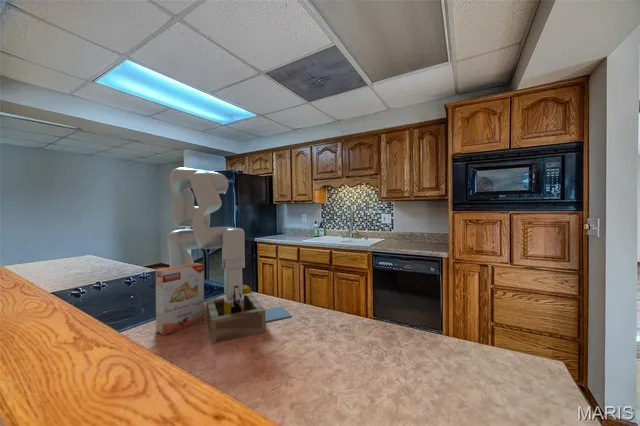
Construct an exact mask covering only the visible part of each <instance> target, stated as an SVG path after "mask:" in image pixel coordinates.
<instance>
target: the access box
mask: <svg viewBox="0 0 640 426" xmlns="http://www.w3.org/2000/svg"><path fill="white" fill-rule="evenodd" d="M242 295H243V296H244V312H239V313H234V314H228V315H224V298H225V296H223V297H216V298H210V299H206V321H207V326H208V330H209V335H210V341H211V344H216V343H220V342H225V341H228V340H233V339H238V338H242V337H247V336H251V335H255V334H259V333H263V332H266V327H267V326H266V323H267V322H266V320H265V309H266V308H264V307H263V305H262V304H261V303H260V301H259V300H258V299H257V298H256V297H255V295H254V294H253V292H252V293H248V294H242Z"/></svg>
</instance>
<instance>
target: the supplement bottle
mask: <svg viewBox="0 0 640 426" xmlns="http://www.w3.org/2000/svg"><path fill="white" fill-rule="evenodd" d="M224 297H225V298H224V315H228V314H231V307H232V301H231V298H230V299H229V300H228V299H227V298H226V296H224ZM233 297H235V296H233ZM234 301H235V300H234ZM240 301H241V312H244V296H243V295H242V297H241V298H240Z"/></svg>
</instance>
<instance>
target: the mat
mask: <svg viewBox="0 0 640 426" xmlns="http://www.w3.org/2000/svg"><path fill="white" fill-rule="evenodd" d="M264 309H265V320H266V323H270V322H274V321H280V320H283V319H288V318H292V317H293V315H292V314H291V313H290V312H289V311H288V310H287V309H286V308H285V307H284V306H283V305H281V306H275V307H270V308H264Z"/></svg>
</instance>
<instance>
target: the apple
mask: <svg viewBox="0 0 640 426" xmlns="http://www.w3.org/2000/svg"><path fill="white" fill-rule="evenodd" d="M242 285H243V293H242V294H248V293H252V294H253V292H252V289H251V288H250V286H248V285H246V284H242Z"/></svg>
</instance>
